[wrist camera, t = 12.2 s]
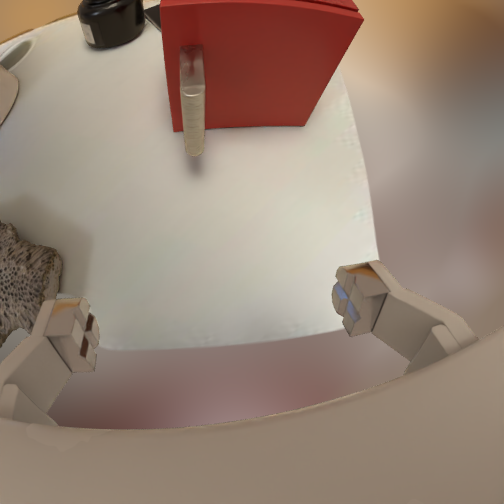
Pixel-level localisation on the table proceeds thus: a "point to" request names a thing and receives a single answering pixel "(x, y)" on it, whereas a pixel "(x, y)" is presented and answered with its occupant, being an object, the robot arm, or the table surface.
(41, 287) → the rock
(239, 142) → the table surface
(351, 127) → the table surface
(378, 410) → the robot arm
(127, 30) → the ink bottle
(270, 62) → the door
